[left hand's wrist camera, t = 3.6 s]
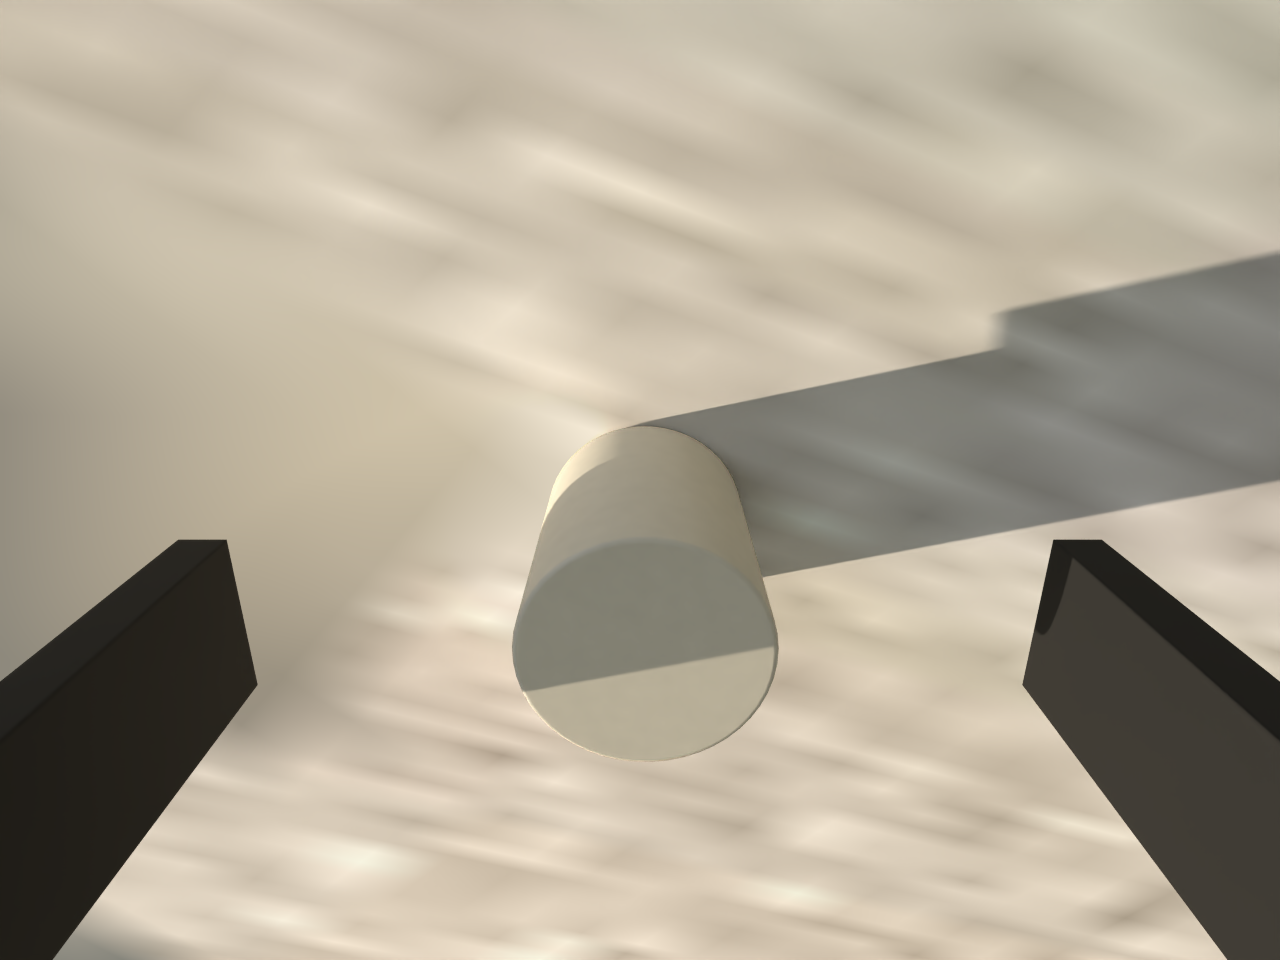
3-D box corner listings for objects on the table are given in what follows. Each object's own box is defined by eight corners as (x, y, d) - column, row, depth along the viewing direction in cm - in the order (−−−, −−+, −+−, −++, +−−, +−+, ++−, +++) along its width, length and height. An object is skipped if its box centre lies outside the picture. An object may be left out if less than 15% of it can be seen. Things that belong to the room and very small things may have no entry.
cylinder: (519, 553, 16) (470, 707, 11) (599, 391, 15) (580, 493, 10) (684, 625, 16) (700, 797, 12) (775, 476, 15) (830, 607, 11)
